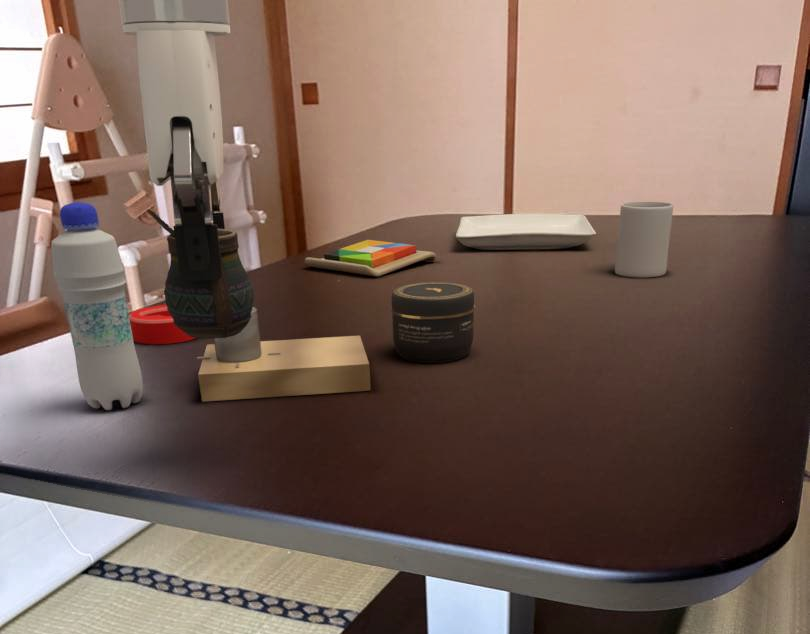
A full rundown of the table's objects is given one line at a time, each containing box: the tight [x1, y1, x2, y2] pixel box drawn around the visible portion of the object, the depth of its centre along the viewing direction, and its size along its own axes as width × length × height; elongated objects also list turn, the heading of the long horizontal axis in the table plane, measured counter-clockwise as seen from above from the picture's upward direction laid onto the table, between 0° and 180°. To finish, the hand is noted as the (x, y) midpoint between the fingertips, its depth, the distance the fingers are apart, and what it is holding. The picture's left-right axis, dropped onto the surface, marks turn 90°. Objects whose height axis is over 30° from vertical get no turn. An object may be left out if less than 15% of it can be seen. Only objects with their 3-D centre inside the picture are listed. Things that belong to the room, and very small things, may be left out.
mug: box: [614, 201, 674, 279], centre depth 142 cm, size 12×8×11 cm
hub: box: [213, 306, 262, 362], centre depth 92 cm, size 5×5×5 cm
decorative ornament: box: [129, 304, 196, 345], centre depth 114 cm, size 10×10×3 cm
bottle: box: [50, 201, 144, 411], centre depth 84 cm, size 7×7×20 cm
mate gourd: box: [146, 209, 255, 340], centre depth 68 cm, size 7×8×10 cm
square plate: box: [455, 213, 597, 251], centre depth 175 cm, size 27×27×4 cm
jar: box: [390, 281, 476, 364], centre depth 101 cm, size 10×10×8 cm
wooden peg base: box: [196, 335, 371, 403], centre depth 94 cm, size 19×12×3 cm, turn 97°
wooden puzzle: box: [304, 239, 437, 278], centre depth 155 cm, size 18×19×4 cm
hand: (205, 268), depth 68 cm, fingers closed on mate gourd, 6 cm apart
